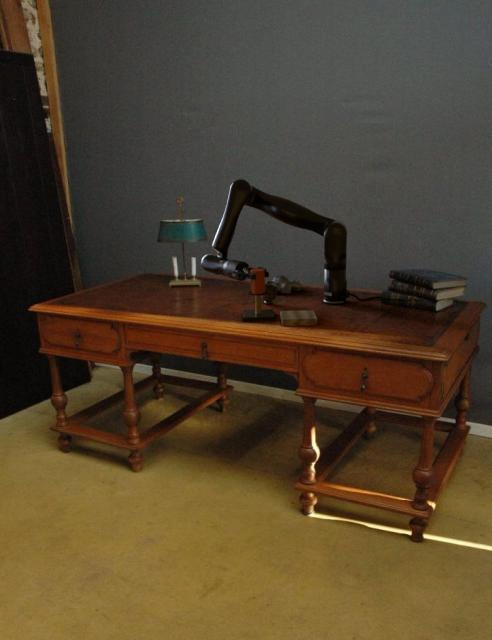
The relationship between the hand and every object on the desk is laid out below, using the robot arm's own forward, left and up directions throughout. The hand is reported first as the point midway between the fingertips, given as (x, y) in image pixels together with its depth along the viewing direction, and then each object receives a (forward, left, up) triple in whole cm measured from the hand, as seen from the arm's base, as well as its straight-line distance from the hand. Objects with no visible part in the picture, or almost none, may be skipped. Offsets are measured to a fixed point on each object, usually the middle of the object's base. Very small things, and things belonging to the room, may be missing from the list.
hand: (261, 275), depth 251 cm
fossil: (-11, -48, -17) cm, 52 cm away
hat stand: (+2, -2, -17) cm, 17 cm away
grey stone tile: (-13, +6, -17) cm, 22 cm away
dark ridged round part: (-3, -23, -17) cm, 29 cm away
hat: (+1, -2, -7) cm, 8 cm away
